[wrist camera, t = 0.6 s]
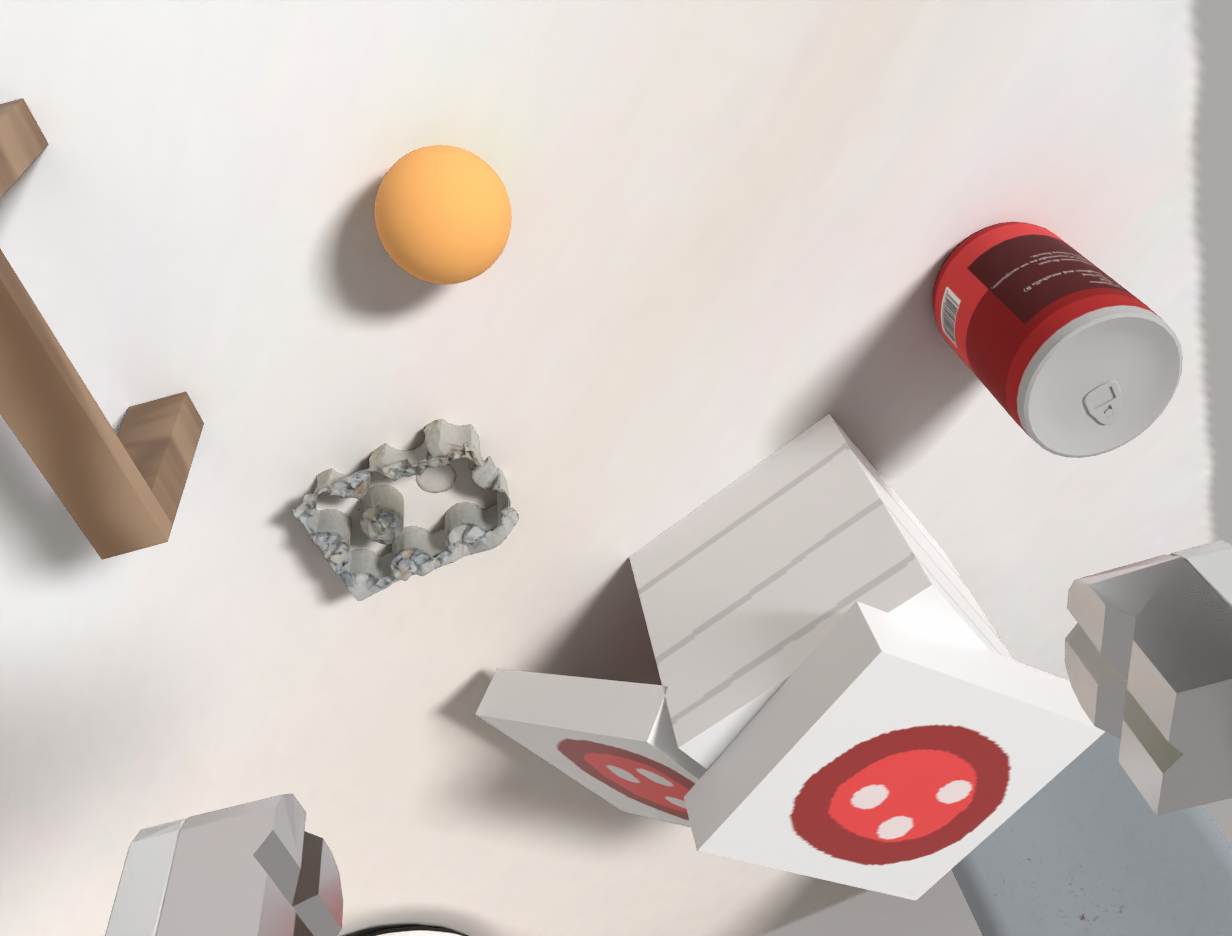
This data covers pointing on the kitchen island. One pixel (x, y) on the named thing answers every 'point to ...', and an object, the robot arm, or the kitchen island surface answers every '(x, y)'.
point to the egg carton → (385, 512)
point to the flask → (1099, 862)
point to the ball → (442, 214)
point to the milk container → (417, 932)
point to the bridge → (84, 407)
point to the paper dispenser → (809, 686)
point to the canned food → (1056, 339)
